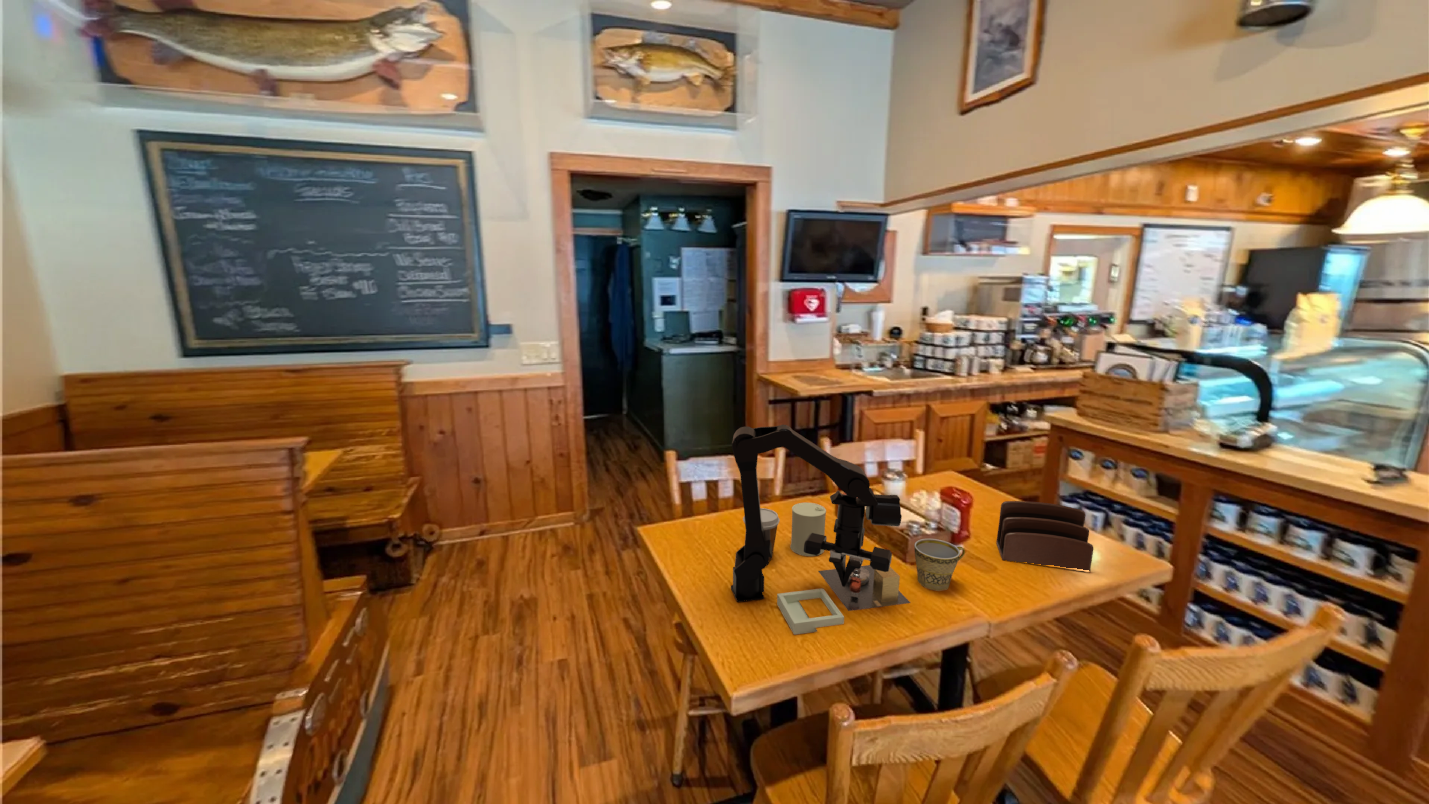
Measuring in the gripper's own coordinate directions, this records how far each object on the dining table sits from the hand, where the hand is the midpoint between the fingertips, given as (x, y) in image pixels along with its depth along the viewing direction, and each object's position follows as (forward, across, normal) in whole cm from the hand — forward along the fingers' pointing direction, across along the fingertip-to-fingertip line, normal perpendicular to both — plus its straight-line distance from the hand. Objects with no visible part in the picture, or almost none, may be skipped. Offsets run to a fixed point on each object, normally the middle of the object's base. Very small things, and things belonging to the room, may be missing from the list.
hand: (843, 585), depth 121 cm
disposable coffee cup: (+4, +24, -11) cm, 26 cm away
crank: (+1, -2, -5) cm, 6 cm away
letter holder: (+1, -44, -41) cm, 60 cm away
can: (+4, +14, -20) cm, 25 cm away
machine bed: (+3, -3, -6) cm, 7 cm away
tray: (+4, +5, +9) cm, 11 cm away
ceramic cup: (+3, -20, -15) cm, 25 cm away
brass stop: (+2, -9, -4) cm, 10 cm away
